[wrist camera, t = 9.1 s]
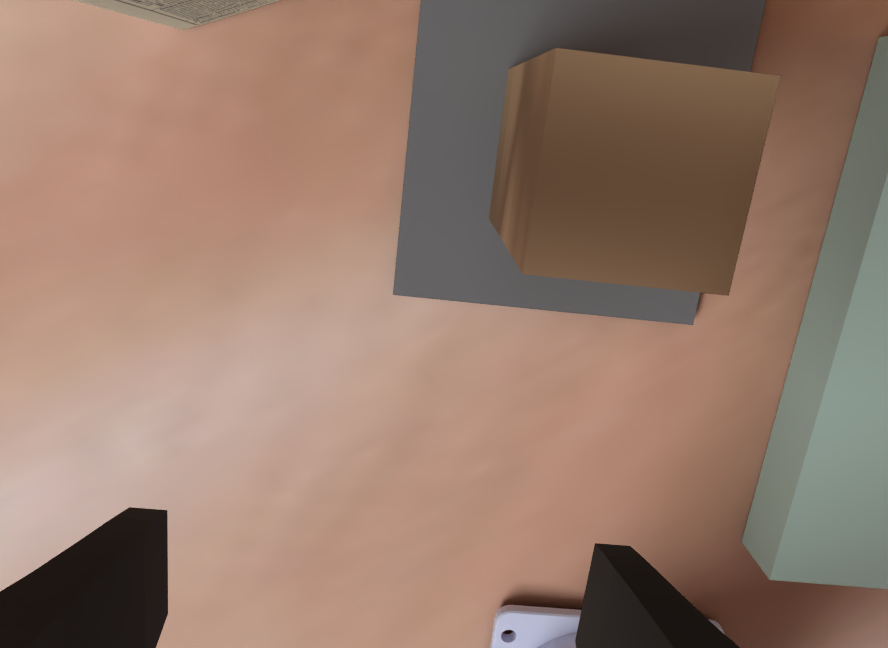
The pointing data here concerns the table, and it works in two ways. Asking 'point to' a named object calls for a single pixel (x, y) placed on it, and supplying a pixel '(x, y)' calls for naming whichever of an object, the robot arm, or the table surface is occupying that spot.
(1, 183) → the table surface
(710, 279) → the walnut block
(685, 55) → the rubber mat
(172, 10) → the skincare box
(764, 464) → the pocket board
